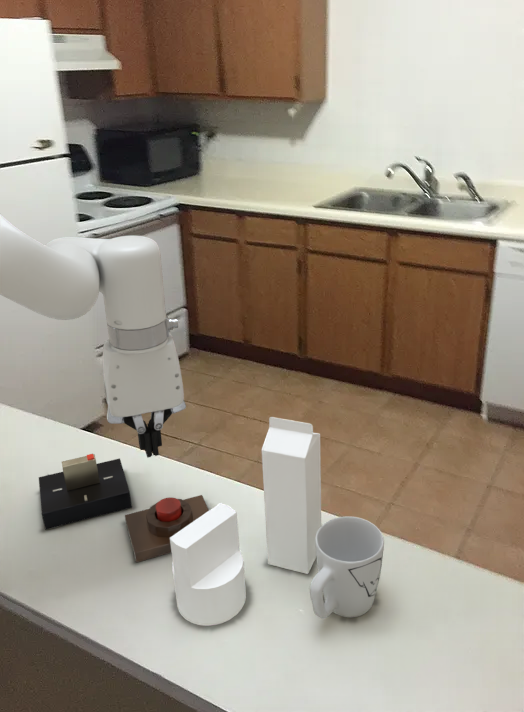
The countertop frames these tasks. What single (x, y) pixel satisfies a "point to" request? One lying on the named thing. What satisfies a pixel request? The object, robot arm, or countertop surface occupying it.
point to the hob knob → (80, 472)
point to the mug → (346, 567)
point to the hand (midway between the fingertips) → (151, 451)
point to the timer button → (168, 509)
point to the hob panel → (84, 496)
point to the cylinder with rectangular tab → (209, 568)
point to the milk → (291, 493)
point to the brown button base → (160, 528)
